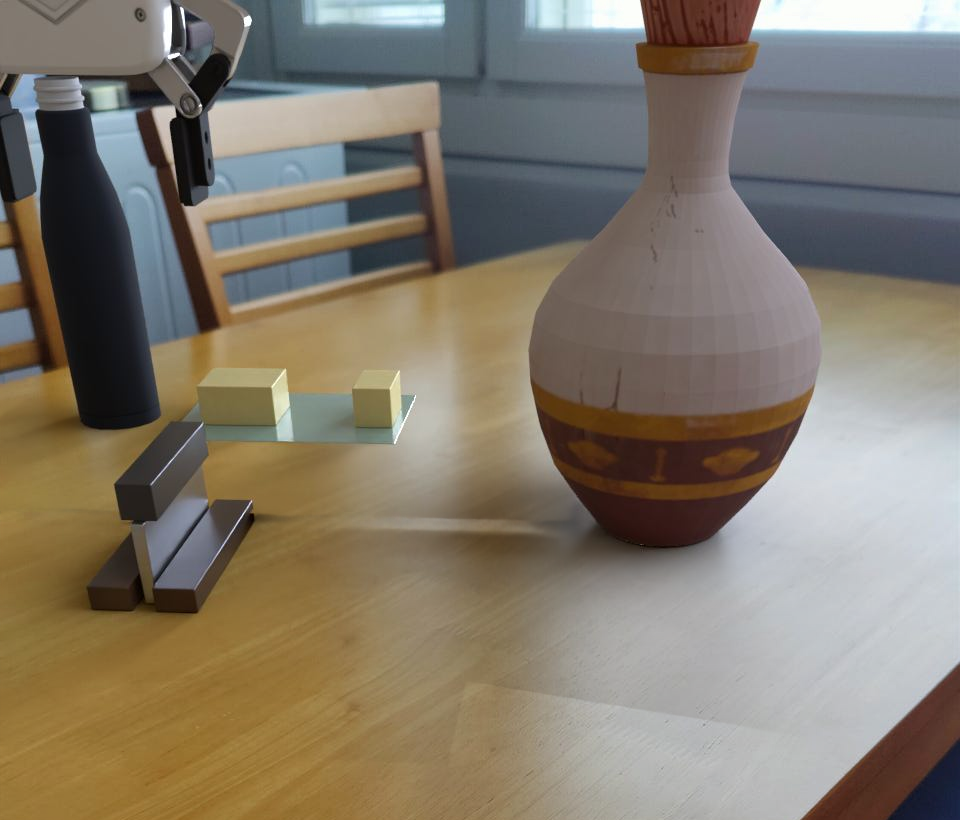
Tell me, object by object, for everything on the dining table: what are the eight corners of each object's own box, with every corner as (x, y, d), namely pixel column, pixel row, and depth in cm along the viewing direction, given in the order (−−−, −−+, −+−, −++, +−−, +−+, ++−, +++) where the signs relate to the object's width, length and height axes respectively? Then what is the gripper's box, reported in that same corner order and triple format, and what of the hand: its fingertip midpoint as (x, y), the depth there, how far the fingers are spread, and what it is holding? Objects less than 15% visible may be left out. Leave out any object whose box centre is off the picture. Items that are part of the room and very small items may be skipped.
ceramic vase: (574, 457, 92) (591, -33, 73) (814, 482, 87) (895, -36, 69) (490, 559, 77) (485, -21, 59) (772, 596, 72) (862, -23, 54)
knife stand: (90, 609, 72) (85, 586, 71) (161, 518, 83) (158, 497, 82) (198, 613, 72) (194, 589, 71) (255, 520, 83) (252, 499, 82)
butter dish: (166, 452, 94) (164, 439, 93) (208, 403, 103) (206, 391, 103) (395, 456, 92) (394, 443, 92) (417, 406, 102) (416, 394, 101)
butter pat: (354, 427, 95) (351, 388, 93) (365, 407, 99) (362, 369, 97) (392, 428, 95) (390, 388, 93) (401, 408, 98) (399, 369, 97)
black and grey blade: (169, 604, 73) (147, 487, 68) (133, 603, 73) (110, 487, 68) (222, 526, 82) (206, 419, 78) (190, 525, 82) (172, 418, 78)
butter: (202, 424, 96) (196, 386, 94) (218, 404, 100) (213, 367, 98) (276, 426, 95) (271, 387, 94) (290, 406, 99) (286, 368, 97)
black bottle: (123, 446, 95) (32, -25, 77) (66, 433, 98) (-36, -25, 79) (180, 423, 99) (105, -28, 81) (123, 411, 102) (39, -29, 84)
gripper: (-191, -233, 52) (-79, 210, 63) (200, -236, 51) (247, 217, 61) (-108, -217, 58) (-18, 185, 69) (245, -219, 57) (281, 191, 67)
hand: (107, 200), depth 65 cm, fingers open, 9 cm apart
